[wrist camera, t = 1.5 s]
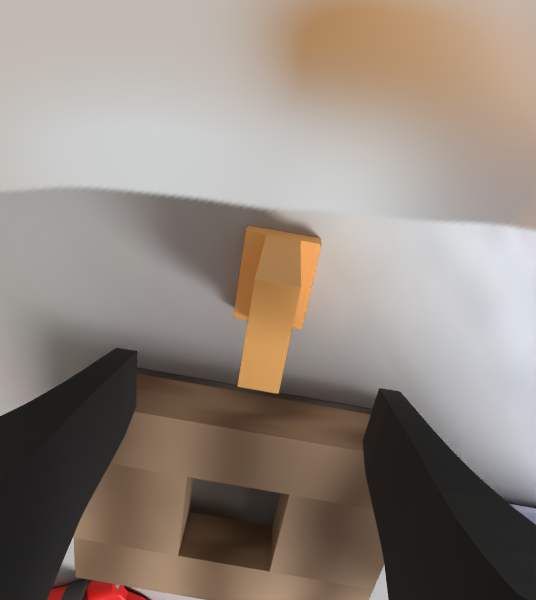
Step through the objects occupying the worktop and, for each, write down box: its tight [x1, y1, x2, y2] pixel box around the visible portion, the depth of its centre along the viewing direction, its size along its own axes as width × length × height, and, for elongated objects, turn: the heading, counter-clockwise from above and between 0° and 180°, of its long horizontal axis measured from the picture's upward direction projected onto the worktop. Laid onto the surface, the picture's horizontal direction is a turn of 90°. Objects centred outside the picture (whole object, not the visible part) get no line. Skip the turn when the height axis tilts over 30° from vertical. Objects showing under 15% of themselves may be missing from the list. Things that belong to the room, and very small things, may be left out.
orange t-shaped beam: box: [233, 225, 321, 394], centre depth 18 cm, size 4×4×6 cm
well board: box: [74, 368, 384, 600], centre depth 26 cm, size 18×14×4 cm
